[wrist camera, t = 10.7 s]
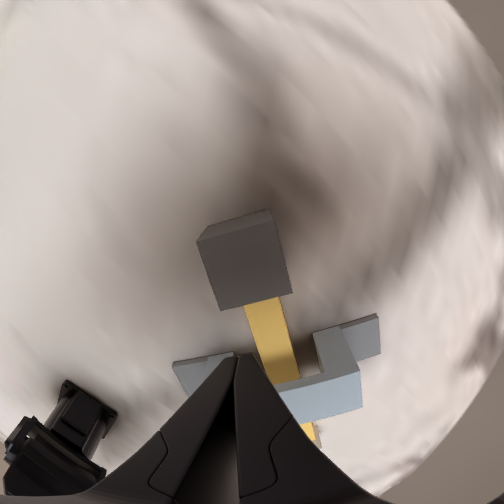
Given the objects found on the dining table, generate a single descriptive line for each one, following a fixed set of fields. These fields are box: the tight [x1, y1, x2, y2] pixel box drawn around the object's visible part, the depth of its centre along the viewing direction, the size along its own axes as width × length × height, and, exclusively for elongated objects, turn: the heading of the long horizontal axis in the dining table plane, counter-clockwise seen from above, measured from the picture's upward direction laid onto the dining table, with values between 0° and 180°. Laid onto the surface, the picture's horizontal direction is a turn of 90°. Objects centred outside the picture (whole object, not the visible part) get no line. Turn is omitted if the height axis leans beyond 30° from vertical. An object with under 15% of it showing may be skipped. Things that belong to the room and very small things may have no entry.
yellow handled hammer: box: [196, 209, 323, 452], centre depth 19 cm, size 22×4×4 cm, turn 16°
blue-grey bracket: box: [172, 314, 381, 424], centre depth 19 cm, size 6×16×5 cm, turn 106°
